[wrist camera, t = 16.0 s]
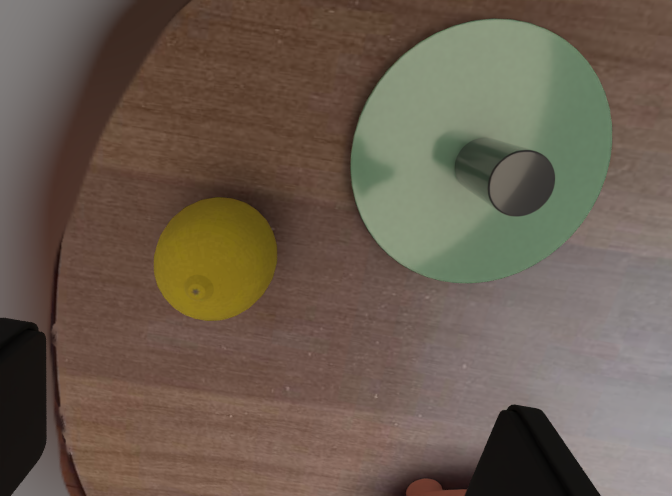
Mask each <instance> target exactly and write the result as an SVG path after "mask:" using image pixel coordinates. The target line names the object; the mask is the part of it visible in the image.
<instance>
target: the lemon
mask: <svg viewBox="0 0 672 496" xmlns="http://www.w3.org/2000/svg"><path fill="white" fill-rule="evenodd" d="M276 264H277V244H276V240H275V237H274V234H273V231H272V229H271V227H270V226H269V224H268V222H267V221H266V219H265V218H264V217H263V216H262V215H261V214H260V213H259V212H258V211H257V210H256V209H255V208H253V207H251V206H250V205H248V204H247V203H245V202H242V201H239V200H236V199H233V198H222V197H215V198H209V199H203V200H200V201H198V202H196V203H194V204H191V205H189V206H187V207H185V208H184V209H183V210H181V211H180V212H179V213H178V214H177V215H176V216H174V217H173V218H172V219H171V220H170V222H169V223H168V225H167V226H166V228H165V229H164V231H163V232H162V234H161V236H160V238H159V241H158V244H157V247H156V251H155V254H154V274H155V278H156V282H157V286H158V288H159V289H160V291H161V293H162V295H163V296H164V298H165V299H166V300H167V301H168V302H169V303H170V304H171V305H172V306H173V307H174V308H175V309H177V310H178V311H180V312H181V313H183V314H185V315H187V316H190V317H192V318H194V319H200V320H206V321H214V320H224V319H227V318H231V317H234V316H236V315H238V314H240V313H242V312H243V311H245V310H247V309H248V308H250V307H251V306H252V305H253V304H254V303H255V302H256V301H257V300H258V299H259V298H260V297H261V296H262V295H263V294H264V292H265V291H266V289H267V287H268V285H269V284H270V282H271V280H272V278H273V275H274V271H275V268H276Z"/></svg>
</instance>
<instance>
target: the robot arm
mask: <svg viewBox="0 0 672 496" xmlns="http://www.w3.org/2000/svg"><path fill="white" fill-rule="evenodd" d="M45 445H46V336H45V334H44V333H43V332H39V331H38V327H37V325H36V324H35V323H32V322H26V321H20V320H14V319H8V318H0V496H11V495H12V494H13V492H14V491H15V490H16V488H17V487H18V486H19V484H20V483H21V482H22V481H23V480H24V478H25V477H26V476H27V474H28V473H29V472H30V471H31V469H32V468H33V467H34V465H35V464H36V463H37V461H38V460H39V459H40V457H41V455H42V453H43V451H44V448H45ZM465 496H601V495H600V494H599V492H598V491H597V490H596V488H595V487H594V485H593V484H592V482H591V481H590V479H589V478H588V476H587V475H586V474H585V472H584V471H583V469H582V468H581V466H580V465H579V463H578V462H577V460H576V459H575V457H574V456H573V455H572V453H571V452H570V450H569V449H568V447H567V446H566V444H565V443H564V441H563V440H562V438H561V437H560V436H559V434H558V433H557V431H556V430H555V428H554V427H553V425H552V424H551V422H550V421H549V419H548V418H547V417H546V415H545V414H544V413H543V412H542V410H540V409H537V408H531V407H526V406H520V405H511V406H509V407H508V409H507V410H502V411H501V412H500V414H499V415H498V418H497V420H496V422H495V425H494V427H493V429H492V432H491V434H490V437H489V439H488V441H487V444H486V446H485V448H484V451H483V453H482V455H481V458H480V460H479V463H478V465H477V467H476V470H475V472H474V474H473V477H472V479H471V481H470V484H469V486H468V488H467V491H466V493H465Z"/></svg>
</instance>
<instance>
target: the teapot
mask: <svg viewBox="0 0 672 496" xmlns="http://www.w3.org/2000/svg"><path fill="white" fill-rule="evenodd" d="M466 491H467V489H460V490H443V489H442V486H441V485H440V484H439V483H438V482H437V481H435V480H432V479H420V480H417V481H414V482H413V483H411V484H410V485H409V487H408V488H407V491H406V496H465V493H466Z"/></svg>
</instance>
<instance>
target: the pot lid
mask: <svg viewBox="0 0 672 496" xmlns="http://www.w3.org/2000/svg"><path fill="white" fill-rule="evenodd" d="M611 148H612V122H611V115H610V108H609V105H608V101H607V98H606V95H605V91H604V89H603V87H602V85H601V83H600V81H599V78H598V76H597V75H596V73H595V72H594V70H593V69H592V67H591V66H590V64H589V63H588V61H587V60H586V59H585V58H584V57H583V56H582V55H581V54H580V53H579V51H578V50H577V49H576V48H574V47H573V46H572V45H571V44H569V43H568V42H567V41H566V40H564V39H563V38H562V37H560V36H558V35H556V34H555V33H553V32H551V31H549V30H547V29H545V28H542V27H540V26H537V25H534V24H531V23H528V22H523V21H518V20H513V19H483V20H474V21H470V22H466V23H462V24H458V25H454V26H452V27H449V28H447V29H444V30H442V31H439V32H437V33H435V34H433V35H431V36H430V37H428V38H426V39H424V40H423V41H421V42H419V43H417V44H416V45H415V46H413V47H412V48H411V49H409V50H408V51H407V52H405V53H404V54H403V55H402V56H401V57H400V58H399V59H397V60H396V61H395V62H394V63H393V64H392V65H391V66H390V67H389V68H388V69H387V71H386V72H385V73H384V74H383V76H382V77H381V78H380V80H379V81H378V82H377V83H376V85H375V87H374V88H373V90H372V91H371V93H370V95H369V96H368V98H367V100H366V102H365V104H364V106H363V109H362V111H361V113H360V115H359V118H358V121H357V124H356V128H355V131H354V135H353V140H352V146H351V155H350V174H351V185H352V190H353V194H354V198H355V202H356V205H357V208H358V211H359V213H360V216H361V218H362V220H363V222H364V224H365V226H366V228H367V229H368V231H369V233H370V234H371V235H372V237H373V238H374V239H375V241H376V242H377V244H378V245H379V246H380V247H381V248H382V249H383V250H384V251H385V252H386V253H387V254H388V255H389V256H391V257H392V258H393V259H395V260H396V261H397V262H398V263H400V264H401V265H403V266H405V267H406V268H408V269H410V270H412V271H414V272H416V273H418V274H421V275H423V276H425V277H429V278H432V279H436V280H440V281H445V282H452V283H479V282H488V281H492V280H497V279H502V278H505V277H508V276H510V275H513V274H516V273H519V272H521V271H523V270H525V269H527V268H529V267H531V266H533V265H535V264H536V263H538V262H540V261H541V260H543V259H545V258H546V257H547V256H549V255H550V254H551V253H553V252H554V251H555V250H557V249H558V248H559V247H560V246H561V245H562V244H563V243H564V242H565V241H566V240H568V239H569V238H570V237H571V236H572V234H573V233H574V232H575V231H576V230H577V228H578V227H579V226H580V225H581V224H582V222H583V221H584V219H585V218H586V216H587V215H588V213H589V212H590V211H591V209H592V207H593V205H594V203H595V201H596V199H597V198H598V196H599V194H600V191H601V189H602V186H603V183H604V181H605V178H606V175H607V171H608V166H609V162H610V157H611Z"/></svg>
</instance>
